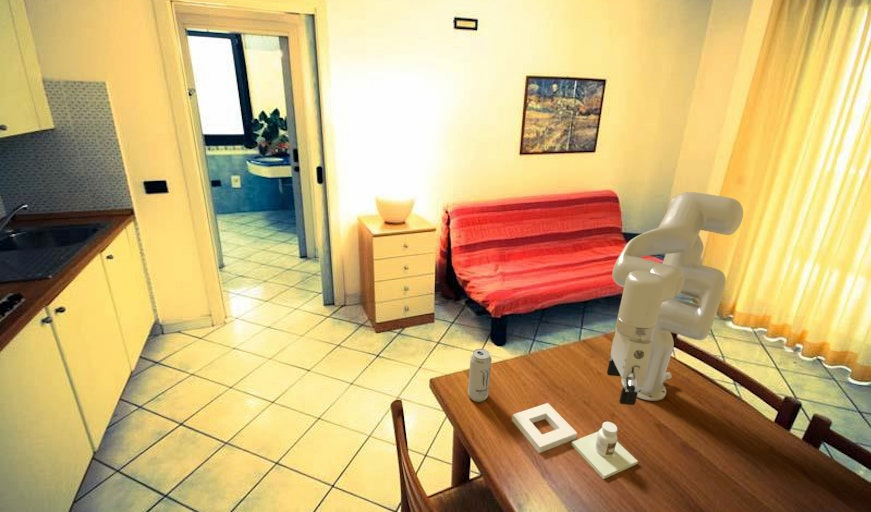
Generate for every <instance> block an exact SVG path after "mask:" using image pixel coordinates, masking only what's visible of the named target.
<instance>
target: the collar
mask: <svg viewBox="0 0 871 512" xmlns="http://www.w3.org/2000/svg"><path fill="white" fill-rule="evenodd" d="M511 417H512V418H511V422H512V423H514V425H515V426H516V427H517V429H519V430H520V432H521V433H522V434H523V435H524V436H525V438H526V440H527V441H528V442H529V443H530V444H531V445H532V446H533V448H534V450H536V451H537V453H538V454H541V453H542V452H546V451H549V450H551V449H553V448H556V447H558V446H561V445H564V444H567V443H569V442H572V441H575V440H577V436H578V432H577V431H576V430H575V429H574V428H573V427H572V426H571V425H570V424H569V423H568V422H567V421H566V420H565V419H564V418H563V417H562V416H561V414H559V413H558V412H557V411H556V410H555V409H554V407H552V406H551V405H550V403H549V402H546V403H543V404H541V405H540V404H539V405H537V406H534V407H531V408H527V409H526V410H522V411H519V412H515V413H513V414H512V416H511ZM543 420H546V422H547V423H548V424H549V425H550V426H551V428H553V430H551V431H549V432H546V433H543V434H542V433H541V431H540V430H539V429H538V428H537V427H536V426H535V424H534V423H537V422H540V421H543Z"/></svg>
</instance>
